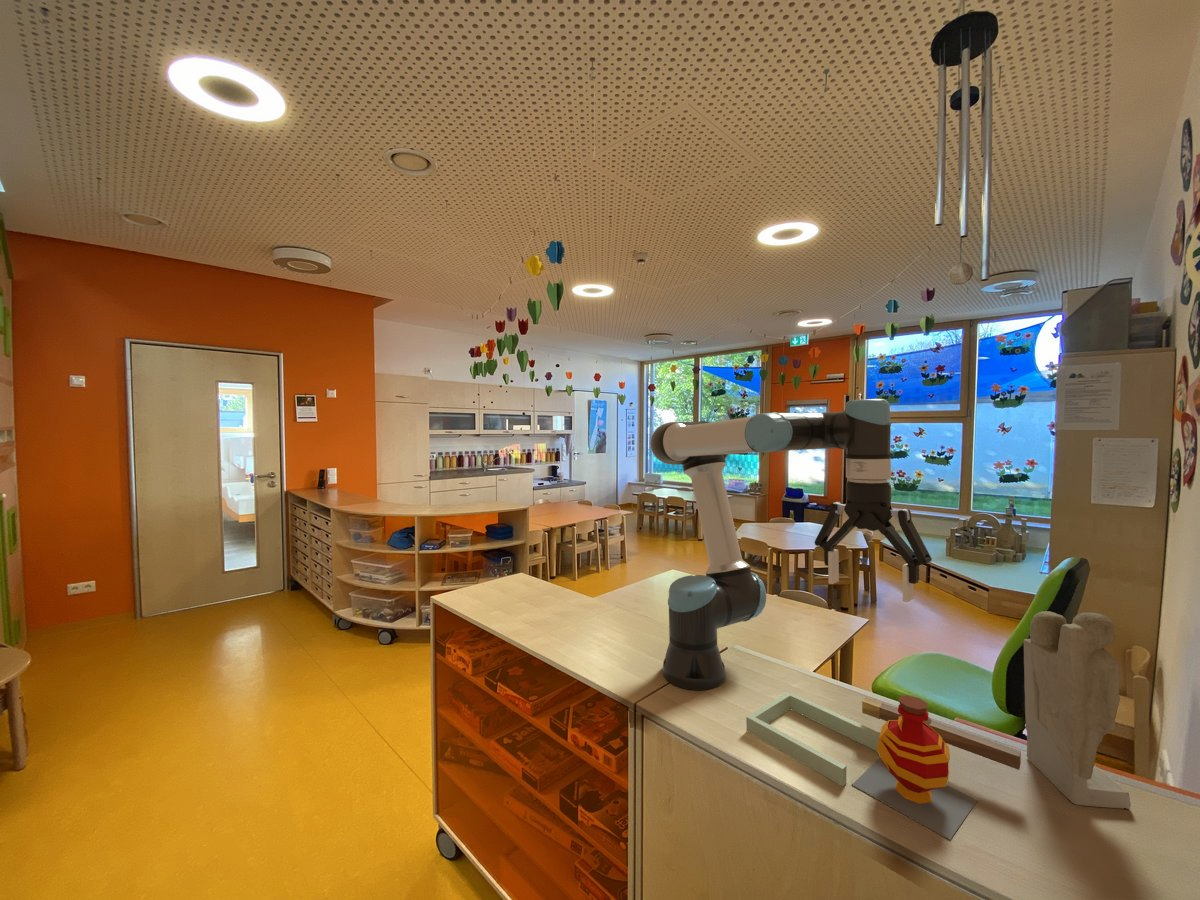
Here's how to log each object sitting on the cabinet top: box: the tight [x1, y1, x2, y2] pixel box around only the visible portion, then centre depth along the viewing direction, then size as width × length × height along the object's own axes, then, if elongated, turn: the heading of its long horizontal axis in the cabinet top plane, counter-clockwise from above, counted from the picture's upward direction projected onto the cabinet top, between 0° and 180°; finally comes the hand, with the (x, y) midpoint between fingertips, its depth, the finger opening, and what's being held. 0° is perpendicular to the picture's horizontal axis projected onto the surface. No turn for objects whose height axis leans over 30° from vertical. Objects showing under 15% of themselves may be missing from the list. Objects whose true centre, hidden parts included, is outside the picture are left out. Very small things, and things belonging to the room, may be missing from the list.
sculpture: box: [1023, 610, 1131, 810], centre depth 79 cm, size 15×8×30 cm, turn 168°
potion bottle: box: [876, 694, 951, 804], centre depth 79 cm, size 10×10×15 cm
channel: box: [745, 691, 880, 787], centre depth 93 cm, size 19×15×3 cm
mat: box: [851, 756, 978, 841], centre depth 79 cm, size 14×12×1 cm
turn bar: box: [861, 696, 1022, 771], centre depth 86 cm, size 4×23×2 cm, turn 44°
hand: (868, 590), depth 92 cm, fingers open, 13 cm apart
